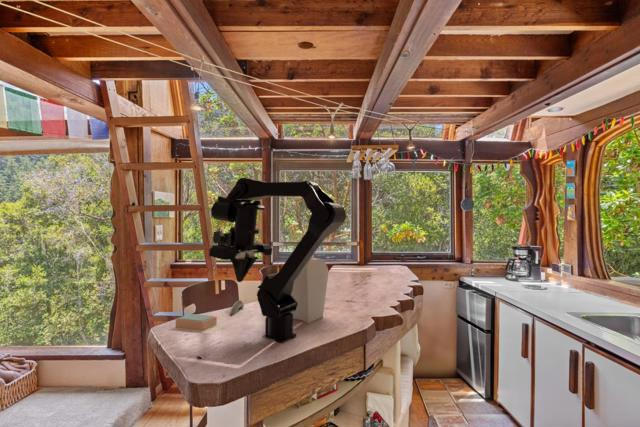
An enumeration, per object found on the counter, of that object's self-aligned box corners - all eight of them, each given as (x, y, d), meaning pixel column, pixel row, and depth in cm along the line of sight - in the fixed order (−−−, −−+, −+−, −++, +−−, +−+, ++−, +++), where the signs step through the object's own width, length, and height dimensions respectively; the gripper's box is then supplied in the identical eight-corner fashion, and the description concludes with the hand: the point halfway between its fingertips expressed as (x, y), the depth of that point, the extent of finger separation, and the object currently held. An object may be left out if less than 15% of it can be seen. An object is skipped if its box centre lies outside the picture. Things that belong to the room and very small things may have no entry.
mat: (229, 326, 105) (229, 324, 105) (210, 335, 96) (210, 333, 96) (193, 322, 109) (194, 320, 109) (172, 331, 100) (172, 328, 100)
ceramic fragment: (232, 319, 113) (233, 306, 113) (216, 319, 114) (216, 306, 114) (245, 309, 127) (245, 297, 127) (230, 308, 128) (230, 297, 128)
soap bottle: (301, 311, 122) (302, 232, 122) (328, 315, 117) (328, 233, 117) (278, 320, 111) (279, 233, 112) (307, 325, 106) (307, 234, 107)
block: (216, 316, 104) (189, 313, 107) (203, 321, 99) (175, 318, 102) (216, 324, 104) (189, 321, 107) (203, 330, 99) (175, 327, 102)
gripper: (247, 221, 113) (241, 271, 113) (197, 220, 97) (191, 279, 98) (275, 226, 107) (270, 279, 108) (228, 226, 91) (221, 289, 92)
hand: (239, 281), depth 101 cm, fingers closed
